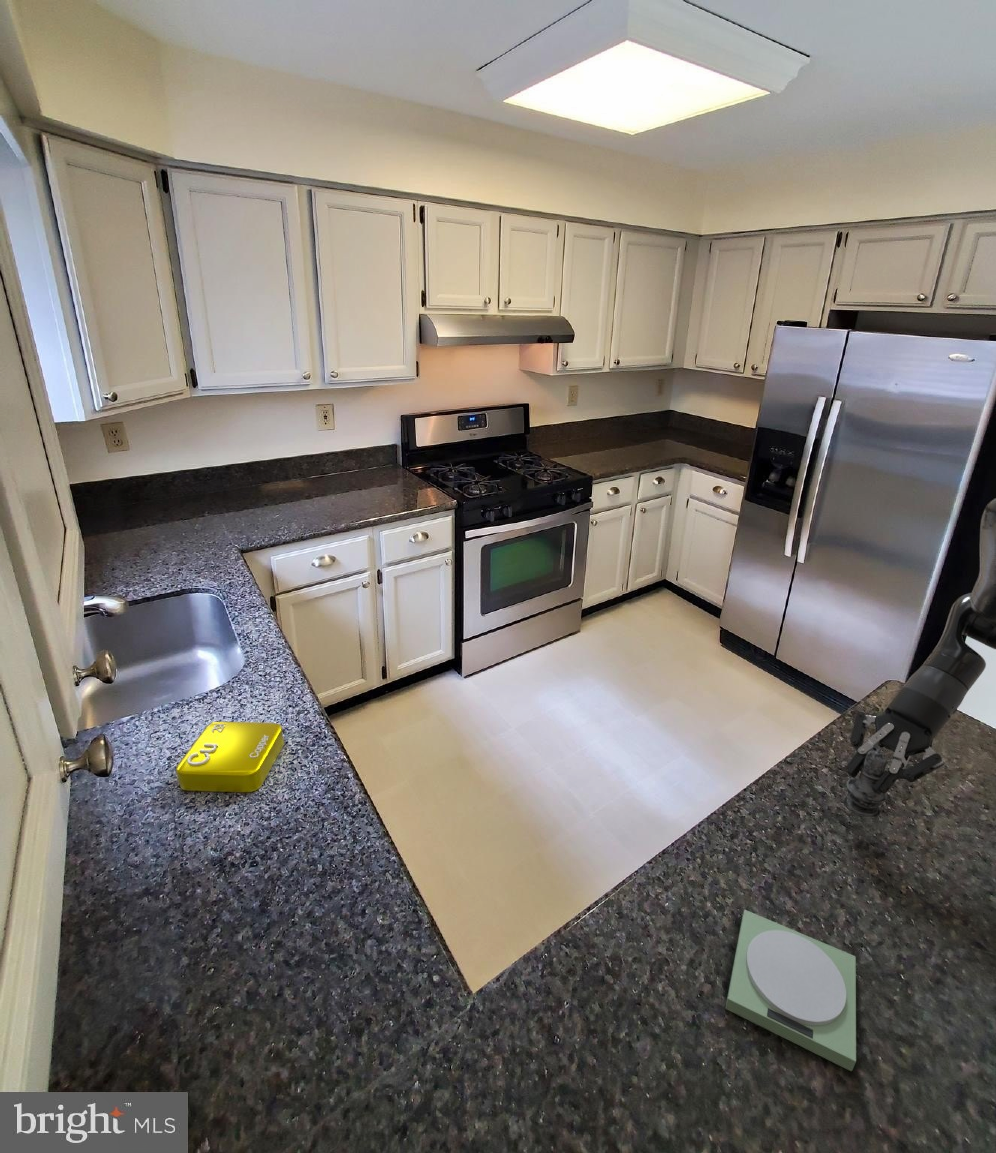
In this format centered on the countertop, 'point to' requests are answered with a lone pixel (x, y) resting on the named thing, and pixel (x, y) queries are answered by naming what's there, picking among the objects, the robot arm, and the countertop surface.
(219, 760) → the element tile
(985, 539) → the robot arm
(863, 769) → the chess piece
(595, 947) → the countertop surface
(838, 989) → the scale
